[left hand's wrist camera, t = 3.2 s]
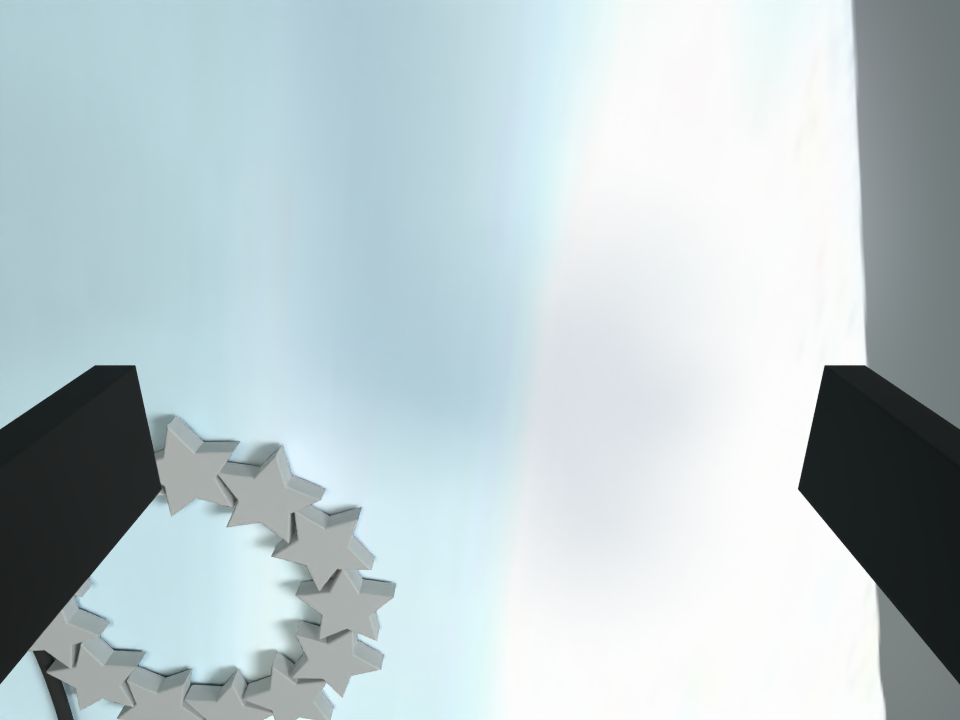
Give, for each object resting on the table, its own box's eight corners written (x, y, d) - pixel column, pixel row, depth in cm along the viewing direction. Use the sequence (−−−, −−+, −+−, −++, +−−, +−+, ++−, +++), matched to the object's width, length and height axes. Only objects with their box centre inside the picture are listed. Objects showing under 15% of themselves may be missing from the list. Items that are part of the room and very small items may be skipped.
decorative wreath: (-69, 437, 44) (76, 744, 55) (-88, 449, 42) (65, 761, 54) (361, 398, 43) (421, 718, 54) (357, 408, 41) (419, 736, 52)
